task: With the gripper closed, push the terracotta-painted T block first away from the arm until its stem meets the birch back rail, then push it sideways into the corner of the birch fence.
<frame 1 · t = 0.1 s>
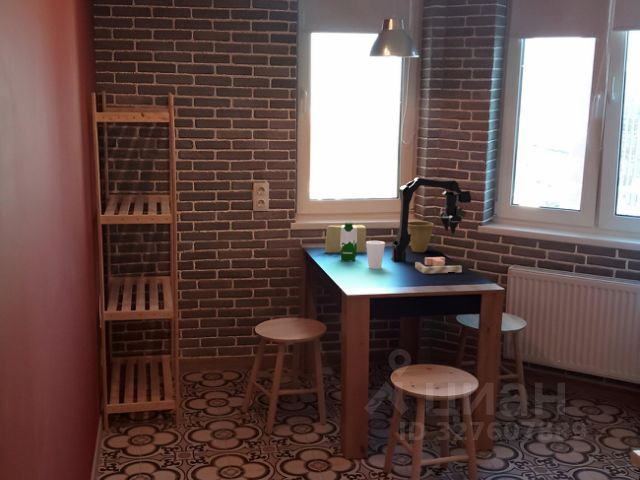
hand: (449, 232, 415), 15 cm above the table, fingers open, 9 cm apart
milk carton: (348, 259, 413), on the table
foam cup: (374, 267, 394), on the table
plant pot: (418, 251, 438), on the table
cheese: (344, 252, 434), on the table
t block: (435, 265, 402), on the table
fence: (437, 269, 391), on the table
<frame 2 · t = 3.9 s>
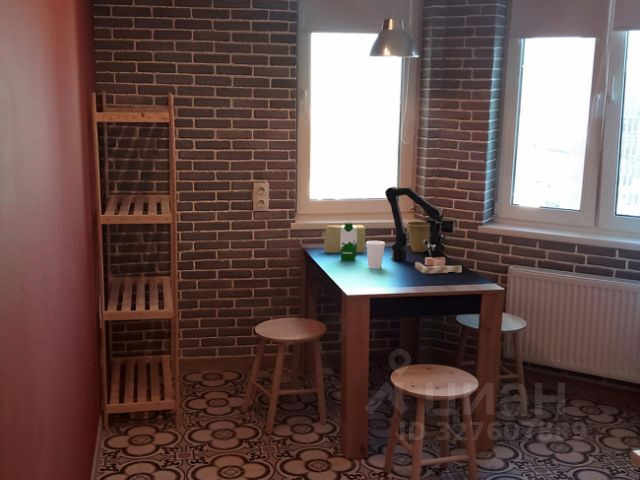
hand: (433, 261, 406), 1 cm above the table, fingers closed
t block: (436, 265, 402), on the table, touching gripper
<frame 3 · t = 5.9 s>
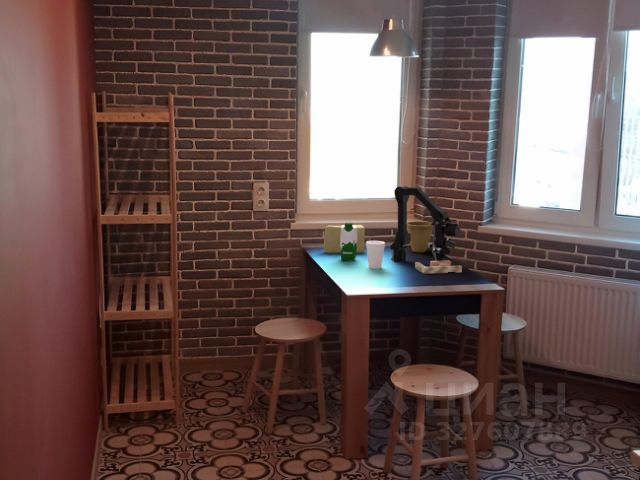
hand: (438, 264, 398), 1 cm above the table, fingers closed
t block: (441, 268, 394), on the table, touching gripper
everything else where it was.
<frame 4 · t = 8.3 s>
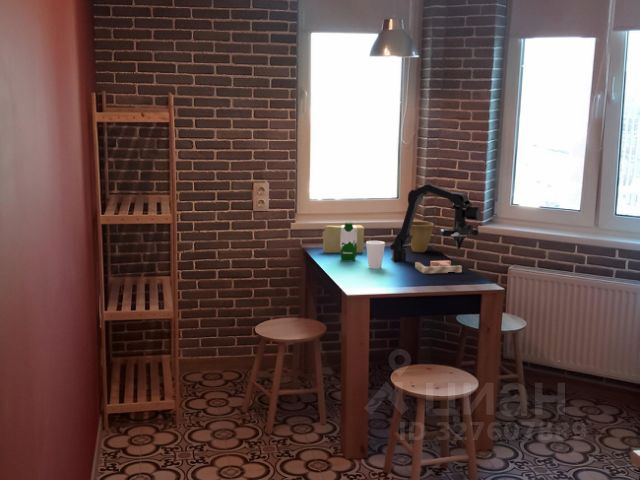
hand: (458, 249, 390), 10 cm above the table, fingers closed
t block: (441, 268, 394), on the table
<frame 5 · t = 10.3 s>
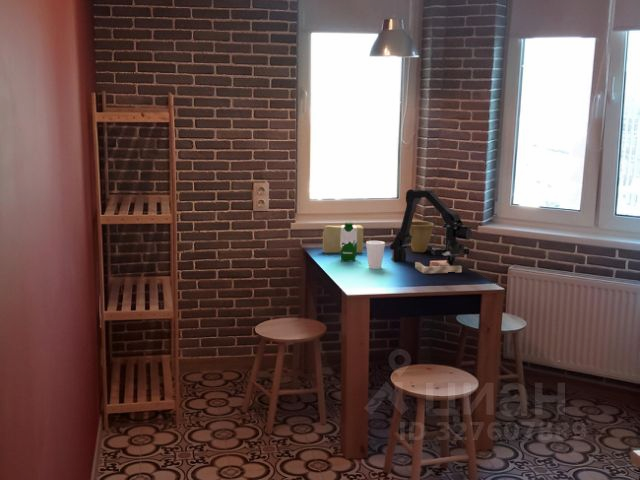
hand: (449, 267, 391), 1 cm above the table, fingers closed
t block: (441, 268, 394), on the table, touching gripper
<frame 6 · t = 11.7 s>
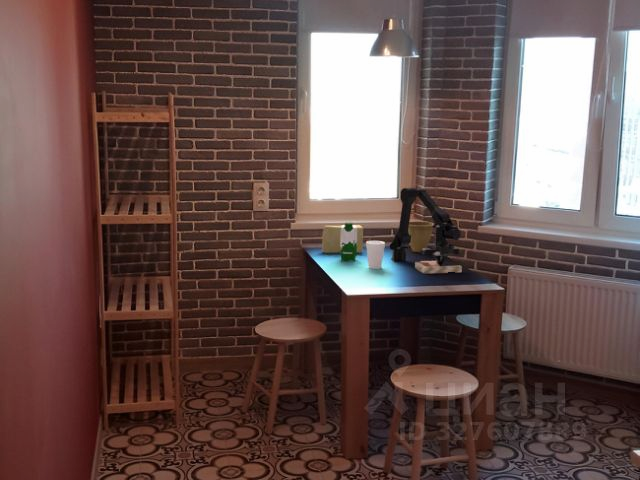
hand: (439, 268, 390), 1 cm above the table, fingers closed
t block: (431, 268, 393), on the table, touching gripper
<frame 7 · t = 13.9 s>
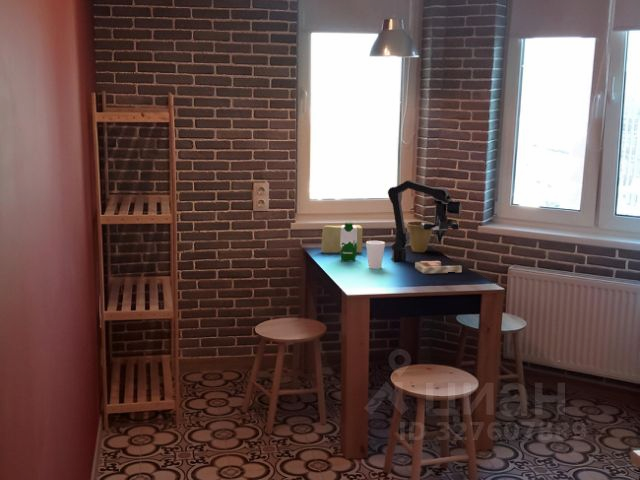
hand: (438, 242, 401), 12 cm above the table, fingers closed
t block: (431, 269, 393), on the table
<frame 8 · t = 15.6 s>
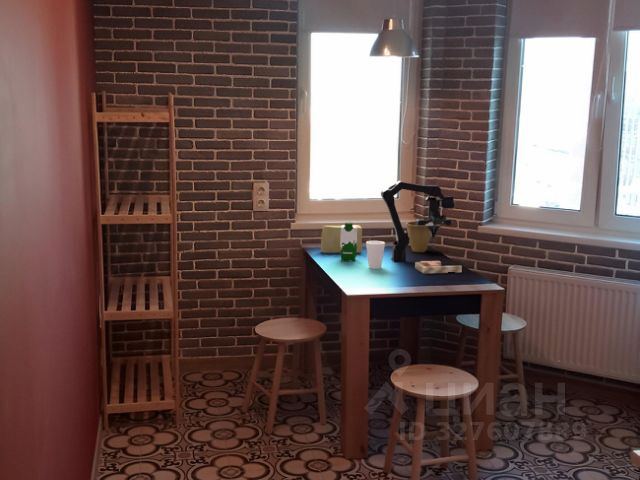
hand: (432, 238, 411), 12 cm above the table, fingers closed
at the end: t block 0.4 cm from the target spot, on the table; t block tilted 0° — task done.
